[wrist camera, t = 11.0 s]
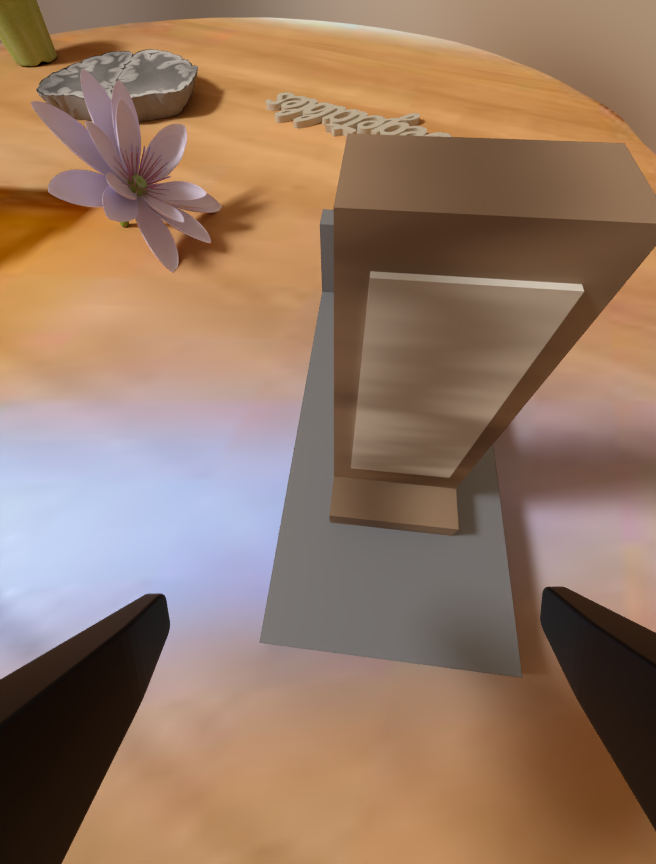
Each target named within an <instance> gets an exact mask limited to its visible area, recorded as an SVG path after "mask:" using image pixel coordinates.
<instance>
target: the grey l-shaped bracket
mask: <svg viewBox="0 0 656 864" xmlns="http://www.w3.org/2000/svg"><path fill="white" fill-rule="evenodd" d="M320 240H321V270H322V296H321V302H320V307H319V313H318V318H317V324H316V330H315V335H314V341H313V346H312V352H311V357H310V363H309V369H308V374H307V380H306V385H305V391H304V397H303V402H302V408H301V413H300V419H299V425H298V430H297V436H296V441H295V447H294V453H293V458H292V464H291V469H290V475H289V481H288V486H287V492H286V497H285V503H284V509H283V514H282V520H281V525H280V531H279V537H278V542H277V548H276V553H275V559H274V565H273V570H272V576H271V581H270V587H269V593H268V598H267V604H266V609H265V615H264V621H263V626H262V632H261V637H260V643H265V644H273V645H280V646H288V647H295V648H303V649H310V650H318V651H325V652H333V653H340V654H348V655H355V656H363V657H370V658H378V659H385V660H393V661H400V662H408V663H415V664H423V665H430V666H438V667H445V668H453V669H460V670H468V671H475V672H483V673H490V674H498V675H505V676H513V677H520V678H522V672H521V664H520V656H519V648H518V640H517V632H516V624H515V616H514V608H513V600H512V592H511V584H510V576H509V568H508V560H507V552H506V544H505V536H504V528H503V519H502V511H501V503H500V495H499V487H498V479H497V471H496V463H495V455H494V447H493V444H492V446H491V447H490V448H489V449H488V450H487V452H486V453H485V454H484V455H483V457H482V458H481V459H480V460H479V461H478V463H477V464H476V465H475V466H474V468H473V469H472V470H471V471H470V472H469V474H468V475H467V476H466V477H465V478H464V480H463V481H462V482H461V483H460V485H459V486H458V487H457V488H456V495H457V511H458V527H459V530H458V531H456V532H455V533H454V534H453V535H452V536H448V535H439V534H430V533H421V532H411V531H402V530H393V529H384V528H375V527H366V526H357V525H348V524H339V523H330V520H329V514H330V505H331V497H332V488H333V479H334V210H325V209H323V212H322V217H321V222H320Z"/></svg>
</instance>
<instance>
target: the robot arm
mask: <svg viewBox="0 0 656 864" xmlns="http://www.w3.org/2000/svg"><path fill="white" fill-rule="evenodd" d="M540 620H541V625H542V628H543V631H544V633H545V635H546V637H547V639H548V641H549V643H550V645H551V647H552V649H553V651H554V653H555V655H556V657H557V659H558V662H559V664H560V666H561V668H562V670H563V672H564V674H565V676H566V678H567V680H568V682H569V684H570V686H571V688H572V690H573V692H574V694H575V696H576V698H577V700H578V702H579V703H580V705H581V707H582V709H583V710H584V712H585V714H586V715H587V717H588V719H589V720H590V722H591V724H592V725H593V727H594V729H595V730H596V732H597V734H598V735H599V737H600V739H601V740H602V742H603V744H604V745H605V747H606V749H607V750H608V752H609V754H610V755H611V757H612V759H613V760H614V762H615V764H616V765H617V767H618V769H619V770H620V772H621V774H622V775H623V777H624V779H625V780H626V782H627V784H628V785H629V787H630V789H631V790H632V792H633V794H634V795H635V797H636V799H637V800H638V802H639V804H640V805H641V807H642V809H643V811H644V812H645V814H646V816H647V817H648V819H649V821H650V822H651V824H652V826H653V827H654V829H655V831H656V633H655V632H653V631H651V630H649V629H647V628H645V627H643V626H641V625H639V624H637V623H635V622H633V621H631V620H629V619H627V618H625V617H623V616H621V615H619V614H617V613H615V612H613V611H611V610H609V609H607V608H605V607H603V606H601V605H599V604H597V603H595V602H593V601H591V600H589V599H587V598H585V597H583V596H581V595H579V594H577V593H575V592H573V591H571V590H570V589H568V588H565V587H546V588H545V589H544V590H543V593H542V604H541V615H540ZM169 629H170V620H169V613H168V607H167V601H166V597H165V595H163V594H146V595H144V596H142V597H140V598H139V599H137V600H135V601H133V602H132V603H130V604H128V605H127V606H125V607H123V608H121V609H120V610H118V611H116V612H115V613H113V614H111V615H110V616H108V617H106V618H104V619H103V620H101V621H99V622H98V623H96V624H94V625H92V626H91V627H89V628H87V629H86V630H84V631H82V632H81V633H79V634H77V635H75V636H74V637H72V638H70V639H69V640H67V641H65V642H63V643H62V644H60V645H58V646H57V647H55V648H53V649H52V650H50V651H48V652H46V653H45V654H43V655H41V656H40V657H38V658H36V659H34V660H33V661H31V662H29V663H28V664H26V665H24V666H23V667H21V668H19V669H17V670H16V671H14V672H12V673H11V674H9V675H7V676H5V677H4V678H2V679H0V864H62V862H63V860H64V858H65V856H66V854H67V852H68V850H69V848H70V846H71V844H72V842H73V839H74V837H75V835H76V833H77V831H78V829H79V827H80V825H81V823H82V821H83V819H84V817H85V815H86V813H87V811H88V809H89V807H90V805H91V803H92V801H93V799H94V797H95V795H96V793H97V791H98V789H99V787H100V785H101V783H102V781H103V779H104V777H105V775H106V773H107V771H108V769H109V767H110V765H111V763H112V761H113V759H114V757H115V755H116V753H117V751H118V749H119V747H120V745H121V743H122V741H123V739H124V737H125V735H126V733H127V731H128V729H129V727H130V725H131V723H132V721H133V719H134V716H135V714H136V712H137V710H138V708H139V706H140V704H141V702H142V700H143V697H144V695H145V692H146V690H147V688H148V685H149V682H150V680H151V677H152V675H153V672H154V670H155V667H156V664H157V662H158V659H159V657H160V654H161V652H162V649H163V646H164V644H165V641H166V639H167V636H168V633H169Z"/></svg>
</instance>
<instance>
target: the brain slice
mask: <svg viewBox="0 0 656 864" xmlns="http://www.w3.org/2000/svg"><path fill="white" fill-rule="evenodd" d="M82 69H84V70H86V71H87V72H89V73H90V74H91V75H92V76H93V77H94V78H95V79H96V80H97V81H98V82H99V83H100V85H101V86H102V87H103V88H104V90H105V91H106V93H107V94H108V96H109V97H110V99H111V100H112V92H113V88H114V85H115V83H116V82H117V81H118V80H120V81H121V82H122V83H123V85H124V86H125V87H126V89H127V91H128V92H129V94H130V96H131V99H132V101H133V103H134V106H135V109H136V113H137V117H138V121H139V122H142V121H146V120H157V119H163V118H167V117H173V116H177V115H178V114H180V113H181V112H182V111H183V107H184V106H185V105H186V104H187V102H188V99H189V98H190V97H191V95H192V92H193V89H194V84H195V78H196V76H197V71H198V67H197V66H192V64H191V63H190V62H189V61H188V60H185V59H182V57H181V56H179V55H175V54H172V53H171V52H168V51H160V50H154V49H148V50H143V51H139V52H137V53H135V54H134V55H133V53H132V52H129V51H113V52H108V53H105V54H102V55H101V56H93V57H90V58H87V59H84V60H83V61H81V62H79V63H75V64H72V65H70V66H68V67H66V68H63V69H61V70H59V71H57V72H53V73H52V74H50V75H49V76H48V77H46V78H44V79H43V80H41V82H40V84H39V87H38V88H37V92H38V94H39V96H40V97H41V98H42V99H44V100H45V101H46V102H47V103H48V104H50V105H52V106H55V107H57V108H59V109H60V110H62V111H64V112H65V113H67V114H68V115H70V116H71V117H73V118H74V119H78V120H87V121H92V119H91V116H90V114H89V111H88V108H87V105H86V102H85V99H84V95H83V91H82V87H81V79H80V75H81V70H82Z"/></svg>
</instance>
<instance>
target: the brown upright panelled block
mask: <svg viewBox="0 0 656 864" xmlns="http://www.w3.org/2000/svg"><path fill="white" fill-rule="evenodd" d="M655 246H656V195H655V193H654V191H653V190H652V188H651V187H650V185H649V183H648V182H647V180H646V178H645V177H644V175H643V173H642V172H641V170H640V168H639V167H638V165H637V163H636V162H635V160H634V158H633V157H632V155H631V153H630V152H629V150H628V148H627V147H626V145H625V143H603V142H575V141H547V140H519V139H491V138H463V137H435V136H406V135H378V134H350V133H348V134H347V139H346V145H345V150H344V155H343V160H342V166H341V171H340V176H339V182H338V187H337V192H336V198H335V203H334V479H333V488H332V497H331V505H330V514H329V520H330V523H339V524H348V525H357V526H366V527H375V528H384V529H393V530H402V531H411V532H421V533H430V534H439V535H448V536H452V535H453V534H454V533H455V532H456V531H458V530H459V527H458V511H457V495H456V488H457V487H458V486H459V485H460V483H461V482H462V481H463V480H464V478H465V477H466V476H467V475H468V474H469V472H470V471H471V470H472V469H473V468H474V466H475V465H476V464H477V463H478V461H479V460H480V459H481V458H482V457H483V455H484V454H485V453H486V452H487V450H488V449H489V448H490V447H491V446H492V444H493V443H494V442H495V441H496V440H497V438H498V437H499V436H500V435H501V433H502V432H503V431H504V430H505V429H506V427H507V426H508V425H509V424H510V422H511V421H512V420H513V419H514V418H515V416H516V415H517V414H518V413H519V412H520V410H521V409H522V408H523V407H524V405H525V404H526V403H527V402H528V401H529V399H530V398H531V397H532V396H533V395H534V393H535V392H536V391H537V390H538V388H539V387H540V386H541V385H542V384H543V382H544V381H545V380H546V379H547V377H548V376H549V375H550V374H551V373H552V371H553V370H554V369H555V368H556V367H557V365H558V364H559V363H560V362H561V360H562V359H563V358H564V357H565V356H566V354H567V353H568V352H569V351H570V350H571V348H572V347H573V346H574V345H575V343H576V342H577V341H578V340H579V339H580V337H581V336H582V335H583V334H584V332H585V331H586V330H587V329H588V328H589V326H590V325H591V324H592V323H593V322H594V320H595V319H596V318H597V317H598V315H599V314H600V313H601V312H602V311H603V309H604V308H605V307H606V306H607V305H608V303H609V302H610V301H611V300H612V298H613V297H614V296H615V295H616V294H617V292H618V291H619V290H620V289H621V287H622V286H623V285H624V284H625V283H626V281H627V280H628V279H629V278H630V277H631V275H632V274H633V273H634V272H635V270H636V269H637V268H638V267H639V266H640V264H641V263H642V262H643V261H644V259H645V258H646V257H647V256H648V255H649V253H650V252H651V251H652V250H653V249H654V247H655Z"/></svg>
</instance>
